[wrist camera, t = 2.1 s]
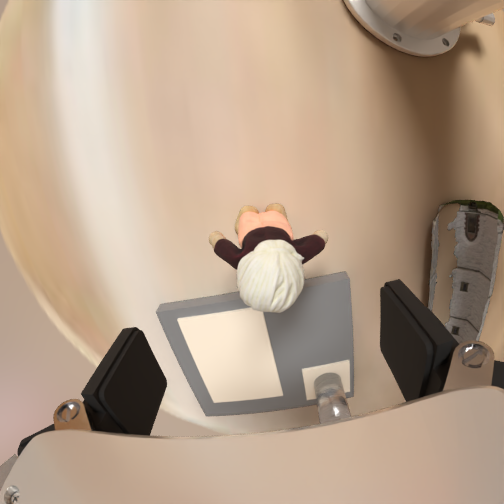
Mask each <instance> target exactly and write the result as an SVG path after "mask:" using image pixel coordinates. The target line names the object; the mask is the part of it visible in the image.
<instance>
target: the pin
mask: <svg viewBox="0 0 504 504" xmlns="http://www.w3.org/2000/svg"><path fill="white" fill-rule="evenodd" d="M314 389H315V395H316V401H317V407H318V414H319V420H320V424H322V423H327V422H332V421H336V420H341V419H345V418H350V417H351V415H350V411H349V407H348V403H347V399H346V396H345V392H344V388H343V384H342V381H341V377H340V376H339V375H338V374H336V373H324V374H322V375H320V376H318V377H317V378H316V379H315V381H314Z"/></svg>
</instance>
